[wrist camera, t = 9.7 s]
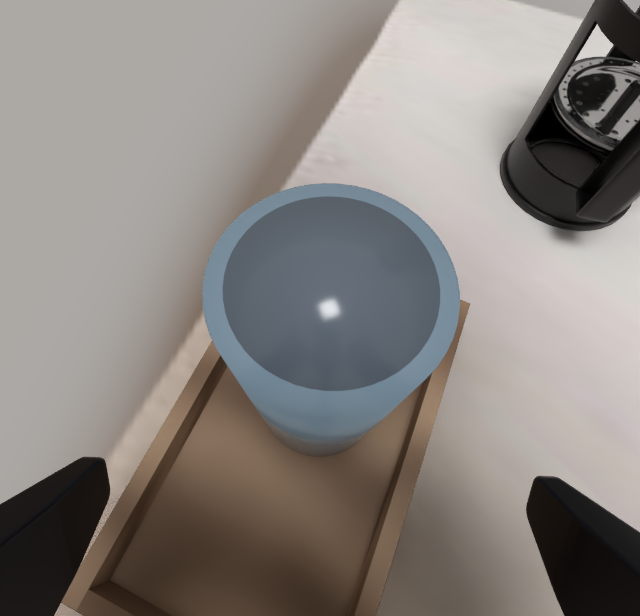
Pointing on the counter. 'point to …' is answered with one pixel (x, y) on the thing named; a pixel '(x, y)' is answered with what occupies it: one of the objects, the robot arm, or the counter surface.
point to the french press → (585, 128)
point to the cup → (329, 310)
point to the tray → (257, 511)
